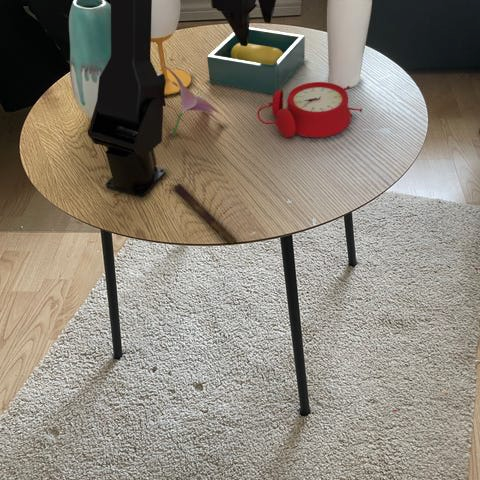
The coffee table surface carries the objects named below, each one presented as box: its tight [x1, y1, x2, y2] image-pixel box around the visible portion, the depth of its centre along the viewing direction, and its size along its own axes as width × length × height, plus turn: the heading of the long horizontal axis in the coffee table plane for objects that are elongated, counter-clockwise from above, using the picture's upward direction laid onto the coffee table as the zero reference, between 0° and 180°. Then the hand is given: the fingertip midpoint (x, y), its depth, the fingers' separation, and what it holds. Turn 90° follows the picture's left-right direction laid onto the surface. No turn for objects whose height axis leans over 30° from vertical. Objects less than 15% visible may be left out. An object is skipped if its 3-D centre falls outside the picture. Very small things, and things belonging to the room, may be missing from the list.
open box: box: [206, 26, 306, 95], centre depth 104 cm, size 13×13×5 cm
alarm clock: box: [256, 81, 363, 138], centre depth 92 cm, size 10×6×15 cm
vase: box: [68, 0, 111, 120], centre depth 92 cm, size 12×12×18 cm
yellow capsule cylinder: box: [231, 43, 283, 65], centre depth 103 cm, size 4×10×4 cm, turn 63°
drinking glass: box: [326, 0, 373, 89], centre depth 95 cm, size 7×7×15 cm
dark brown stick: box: [173, 183, 237, 246], centre depth 80 cm, size 15×1×1 cm
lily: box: [160, 63, 224, 136], centre depth 92 cm, size 12×12×10 cm
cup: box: [151, 0, 192, 96], centre depth 98 cm, size 9×9×16 cm
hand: (256, 33), depth 100 cm, fingers open, 9 cm apart
